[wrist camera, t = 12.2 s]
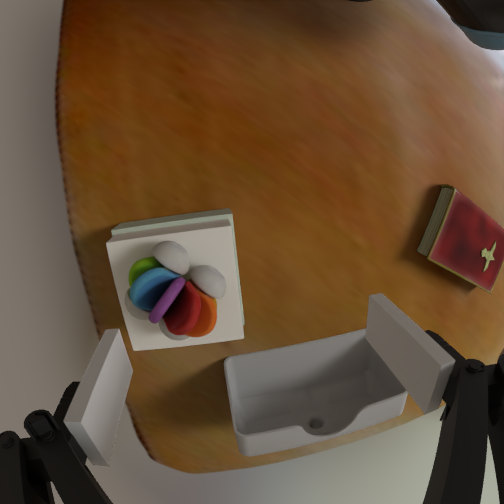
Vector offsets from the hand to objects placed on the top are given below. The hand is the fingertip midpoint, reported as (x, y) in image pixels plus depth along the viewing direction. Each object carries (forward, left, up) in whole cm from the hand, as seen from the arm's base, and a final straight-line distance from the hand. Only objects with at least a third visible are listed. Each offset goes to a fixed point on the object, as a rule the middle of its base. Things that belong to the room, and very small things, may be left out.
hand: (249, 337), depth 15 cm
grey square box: (+4, -6, -25) cm, 26 cm away
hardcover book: (+6, +41, -26) cm, 49 cm away
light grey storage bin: (+27, +10, -26) cm, 38 cm away
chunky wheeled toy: (+3, -6, -17) cm, 19 cm away
